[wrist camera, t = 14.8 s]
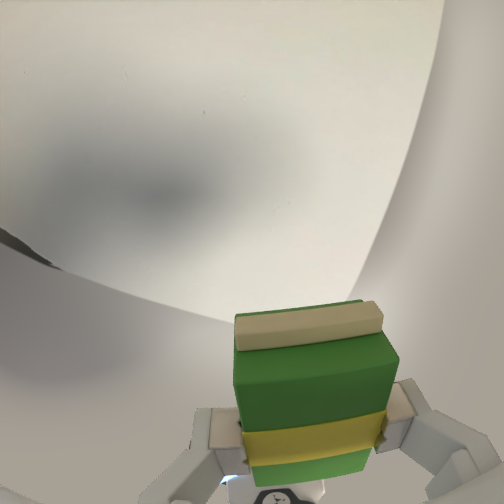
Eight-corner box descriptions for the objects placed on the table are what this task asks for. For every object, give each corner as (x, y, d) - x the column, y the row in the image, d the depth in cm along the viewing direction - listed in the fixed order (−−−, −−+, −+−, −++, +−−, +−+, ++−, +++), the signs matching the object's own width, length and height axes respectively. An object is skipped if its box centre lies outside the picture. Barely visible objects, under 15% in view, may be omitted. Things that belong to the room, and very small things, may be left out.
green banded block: (364, 280, 9) (407, 340, 6) (344, 423, 12) (361, 478, 9) (231, 295, 9) (227, 366, 6) (253, 436, 12) (256, 494, 9)
